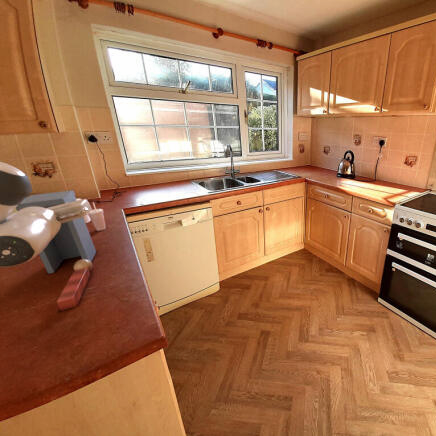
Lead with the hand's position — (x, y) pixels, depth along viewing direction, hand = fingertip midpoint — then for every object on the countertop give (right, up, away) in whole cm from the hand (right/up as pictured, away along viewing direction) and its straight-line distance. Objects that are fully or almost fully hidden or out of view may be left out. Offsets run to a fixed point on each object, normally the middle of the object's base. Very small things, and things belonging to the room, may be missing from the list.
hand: (52, 209), depth 71 cm
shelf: (-13, -19, +22) cm, 32 cm away
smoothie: (-25, -8, +50) cm, 57 cm away
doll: (+1, -25, +7) cm, 26 cm away
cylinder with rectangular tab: (-44, -5, +60) cm, 74 cm away
